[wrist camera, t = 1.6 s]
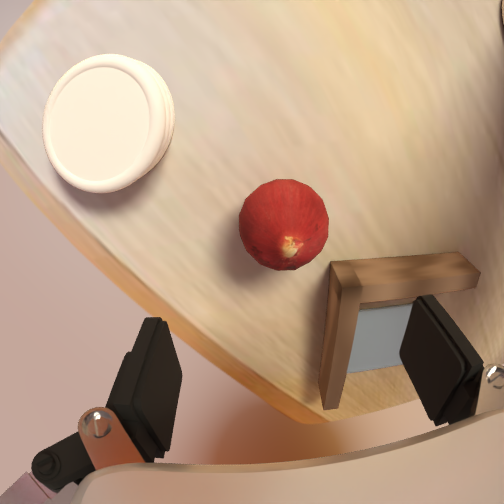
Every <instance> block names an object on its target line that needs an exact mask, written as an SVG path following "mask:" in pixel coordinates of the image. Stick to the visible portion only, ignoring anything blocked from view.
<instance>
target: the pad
mask: <svg viewBox="0 0 504 504" xmlns="http://www.w3.org/2000/svg"><path fill="white" fill-rule="evenodd" d="M412 305H413V303H412V304H405V305H397V306H389V307H381V308H372V309H363V310H359V313H358V319H357V324H356V330H355V335H354V340H353V345H352V350H351V355H350V360H349V365H348V369H347V373H354V372H361V371H368V370H374V369H380V368H386V367H391V366H396V365H402V364H403V363H402V361H401V359H400V356H399V350H400V347H401V344H402V340H403V337H404V334H405V330H406V327H407V323H408V320H409V316H410V312H411V309H412Z"/></svg>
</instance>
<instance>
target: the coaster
mask: <svg viewBox="0 0 504 504" xmlns="http://www.w3.org/2000/svg"><path fill="white" fill-rule="evenodd" d="M174 118H175V114H174V105H173V100H172V96H171V94H170V91H169V89H168V87H167V85H166V83H165V82H164V80H163V79H162V78H161V76H160V75H159V74H158V73H157V72H156V71H155V70H154V69H153V68H151V67H150V66H148V65H147V64H145V63H142V62H140V61H138V60H135V59H132V58H129V57H126V56H122V55H117V54H103V55H98V56H94V57H91V58H88V59H86V60H84V61H82V62H80V63H78V64H76V65H75V66H74V67H72V68H71V69H70V70H69V71H67V72H66V73H65V74H64V75H63V76H62V78H61V79H60V80H59V81H58V82H57V84H56V85H55V87H54V88H53V90H52V92H51V94H50V96H49V98H48V101H47V103H46V107H45V110H44V115H43V123H42V134H43V142H44V146H45V150H46V153H47V155H48V158H49V160H50V162H51V164H52V166H53V167H54V169H55V170H56V171H57V173H58V174H59V175H60V176H61V177H62V178H63V179H64V180H65V181H67V182H68V183H69V184H71V185H72V186H74V187H76V188H78V189H80V190H83V191H87V192H91V193H109V192H114V191H117V190H120V189H123V188H125V187H127V186H129V185H130V184H132V183H133V182H135V181H136V180H137V179H139V178H140V177H142V176H143V175H145V174H146V173H147V172H149V171H150V170H151V169H152V168H153V167H154V166H155V165H156V164H157V163H158V162H159V161H160V159H161V158H162V157H163V155H164V153H165V151H166V150H167V148H168V145H169V143H170V141H171V137H172V134H173V129H174Z"/></svg>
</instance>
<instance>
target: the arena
mask: <svg viewBox="0 0 504 504" xmlns="http://www.w3.org/2000/svg"><path fill="white" fill-rule="evenodd" d="M480 273H481V272H479V271H478V270H477V269H476V268H475V267H474V266H473V265H472V264H471V263H470V262H469V261H468V260H467V259H466V258H465V257H464V256H462V255H461V254H460V253H459V252H453V253H441V254H428V255H415V256H402V257H388V258H374V259H360V260H345V261H331V263H330V278H329V290H328V302H327V313H326V323H325V333H324V342H323V350H322V358H321V366H320V374H319V381H318V384H319V389H320V395H321V400H322V405H323V410H330V409H337V408H338V406H339V402H340V398H341V394H342V390H343V386H344V382H345V378H346V374H347V369H348V365H349V360H350V355H351V350H352V345H353V340H354V335H355V330H356V324H357V319H358V313H359V307H360V303H368V302H377V301H386V300H394V299H403V298H410V297H418V296H422V295H429V294H432V295H433V294H439V293H446V292H453V291H459V290H465V289H472V288H476V286H477V283H478V279H479V276H480Z"/></svg>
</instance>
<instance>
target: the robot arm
mask: <svg viewBox="0 0 504 504" xmlns="http://www.w3.org/2000/svg"><path fill="white" fill-rule="evenodd" d="M502 17H503V23H504V0H503V2H502ZM399 356H400V359H401V361H402V363H403V365H404V367H405V369H406V371H407V373H408V375H409V377H410V379H411V381H412V383H413V385H414V387H415V389H416V391H417V394H418V396H419V398H420V400H421V402H422V404H423V406H424V409H425V411H426V413H427V415H428V417H429V419H430V420H433V421H434V424H435V426H439V425H441V424H444V423H447V421H448V423H449V425H448V426H446V427H442V428H439V429H436V430H433V431H430V432H427V433H424V434H421V435H418V436H415V437H411V438H408V439H405V440H401V441H398V442H394V443H390V444H386V445H382V446H378V447H374V448H369V449H365V450H360V451H355V452H351V453H345V454H340V455H334V456H328V457H321V458H314V459H307V460H299V461H289V462H278V463H264V464H242V465H196V464H172V463H168V464H167V463H154V458H164V454H165V451H169V449H170V445H171V438H172V433H173V427H174V421H175V415H176V409H177V404H178V398H179V393H180V387H181V382H182V371H181V367H180V364H179V361H178V358H177V354H176V351H175V348H174V345H173V341H172V338H171V334H170V331H169V327H168V324H167V322H166V321H162V319H161V318H160V317H148V318H145V319H144V322H143V324H142V327H141V329H140V331H139V334H138V336H137V339H136V341H135V344H134V346H133V349H132V351H131V352H127V353H126V355H125V356H124V360H123V362H122V364H121V367H120V369H119V372H118V374H117V377H116V380H115V382H114V385H113V388H112V390H111V393H110V396H109V398H108V401H107V404H106V407H105V408H104V407H95V408H92V409H90V410H88V411H86V412H85V413H84V414H83V415H82V416H81V418H80V420H79V422H78V432H76V433H74V434H73V435H71V436H69V437H67V438H65V439H63V440H61V441H59V442H58V443H56V444H54V445H52V446H50V447H48V448H46V449H44V450H42V451H41V452H39V453H38V454H37V455H36V456H35V457H34V459H33V462H32V467H31V469H32V471H31V472H30V473H27V472H25V473H24V474H23V475H22V476H21V477H20V478H19V479H18V480H17V481H16V482H15V483H14V484H13V485H12V486H11V487H10V488H8V489H7V490H6V491H5V492H4V493H3V494H2V495H1V496H0V504H504V366H502V365H499V364H490V365H488V366H486V367H485V368H484V367H483V363H484V362H483V360H482V359H481V357H480V356H479V354H478V353H477V352H476V350H475V349H474V348H473V346H472V345H471V343H470V342H469V341H468V339H467V338H466V337H465V335H464V334H463V333H462V331H461V330H460V329H459V327H458V326H457V325H456V323H455V322H454V321H453V320H452V318H451V317H450V316H449V314H448V313H447V312H446V311H445V309H444V308H443V307H442V306H441V304H440V303H439V302H438V301H437V300H436V298H435V297H434V296H433V295H432V294H429V295H422V296H418V297H417V299H416V300H415V301H414V302H413V305H412V309H411V312H410V316H409V320H408V323H407V327H406V330H405V334H404V337H403V340H402V344H401V347H400V350H399Z"/></svg>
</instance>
